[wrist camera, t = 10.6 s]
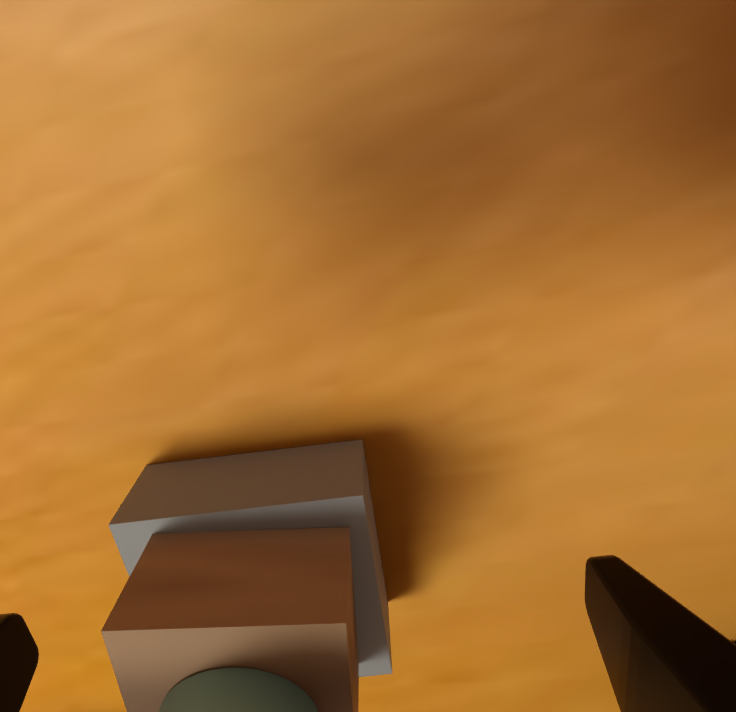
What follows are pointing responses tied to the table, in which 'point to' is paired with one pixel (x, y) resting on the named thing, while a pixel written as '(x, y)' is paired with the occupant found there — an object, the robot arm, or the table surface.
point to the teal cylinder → (237, 693)
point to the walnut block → (238, 613)
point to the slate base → (270, 515)
